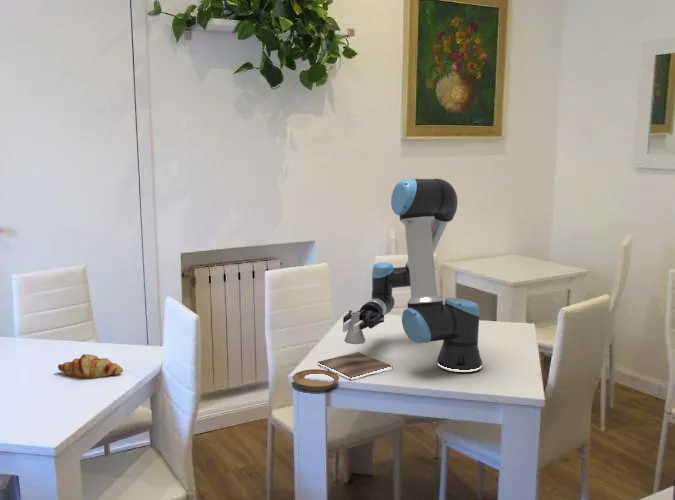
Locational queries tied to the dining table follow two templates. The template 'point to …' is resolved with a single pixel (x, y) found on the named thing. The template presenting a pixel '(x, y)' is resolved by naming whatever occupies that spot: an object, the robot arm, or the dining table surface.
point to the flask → (350, 336)
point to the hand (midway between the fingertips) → (349, 328)
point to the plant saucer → (314, 384)
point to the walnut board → (354, 364)
